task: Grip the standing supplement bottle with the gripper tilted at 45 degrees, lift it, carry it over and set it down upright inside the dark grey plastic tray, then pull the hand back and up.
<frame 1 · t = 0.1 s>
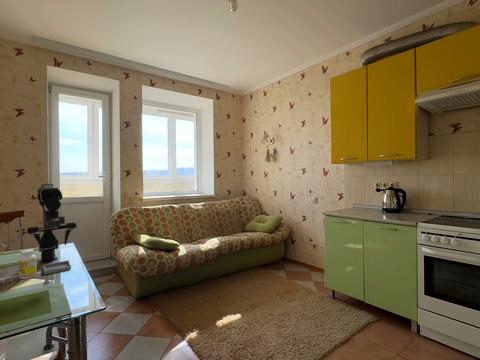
hand: (53, 246, 123), 15 cm above the table, tool pointing down, fingers open, 9 cm apart
supplement bottle: (28, 277, 127), on the table
tray: (57, 268, 137), on the table
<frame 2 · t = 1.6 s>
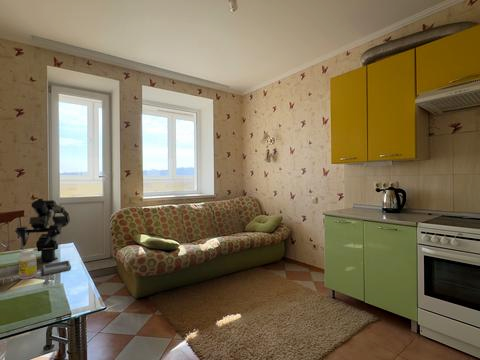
hand: (34, 245, 133), 13 cm above the table, tool tilted 45°, fingers open, 9 cm apart
nothing on the table moved.
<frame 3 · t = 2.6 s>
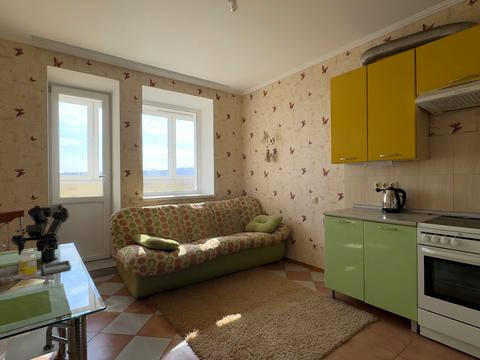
hand: (30, 253, 130), 10 cm above the table, tool tilted 45°, fingers open, 9 cm apart
nothing on the table moved.
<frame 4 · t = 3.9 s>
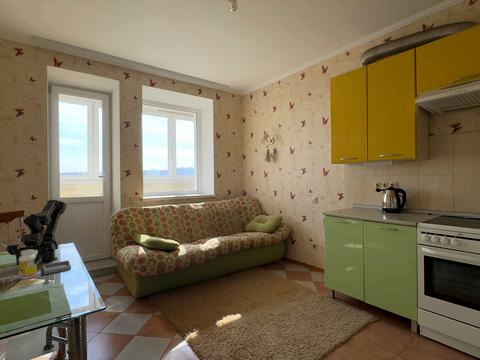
hand: (26, 264, 125), 7 cm above the table, tool tilted 45°, fingers open, 7 cm apart
supplement bottle: (28, 277, 127), on the table, touching gripper
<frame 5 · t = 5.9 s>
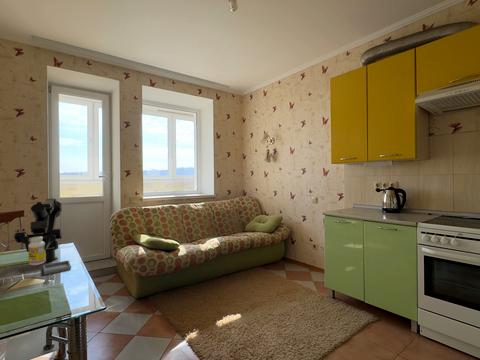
hand: (36, 250, 128), 12 cm above the table, tool tilted 45°, fingers closed on supplement bottle, 7 cm apart
supplement bottle: (37, 263, 129), point 5 cm above the table, touching gripper
when the fingers open (8 cm above the table, at t = 7.9 s): supplement bottle drops 1 cm, resting on tray.
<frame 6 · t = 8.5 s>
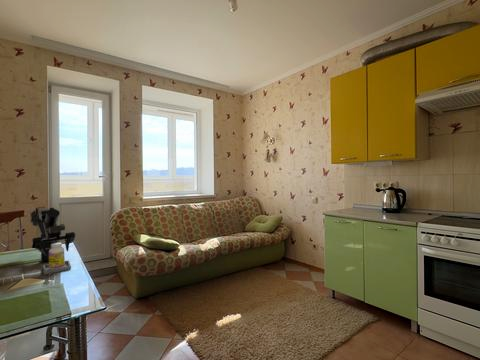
hand: (57, 253, 136), 9 cm above the table, tool tilted 45°, fingers open, 9 cm apart
supplement bottle: (57, 268, 137), resting on tray
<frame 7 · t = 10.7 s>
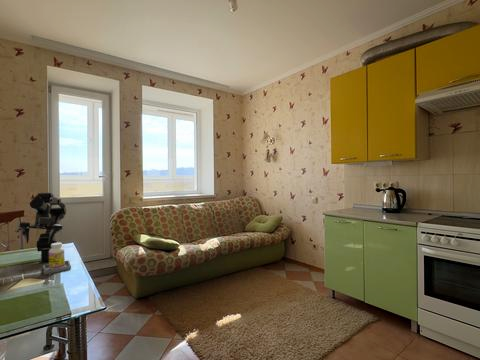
hand: (38, 243, 137), 13 cm above the table, tool tilted 25°, fingers open, 9 cm apart
nothing on the table moved.
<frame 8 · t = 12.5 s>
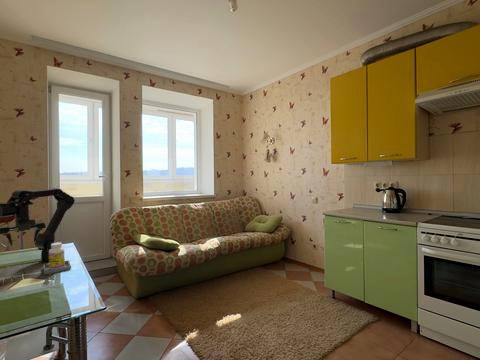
hand: (23, 243, 137), 13 cm above the table, tool pointing down, fingers open, 9 cm apart
nothing on the table moved.
at the end: supplement bottle 0.2 cm off-centre on the tray, point 0.2 cm above the tray's base; supplement bottle tilted 0°; the gripper is holding nothing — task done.
